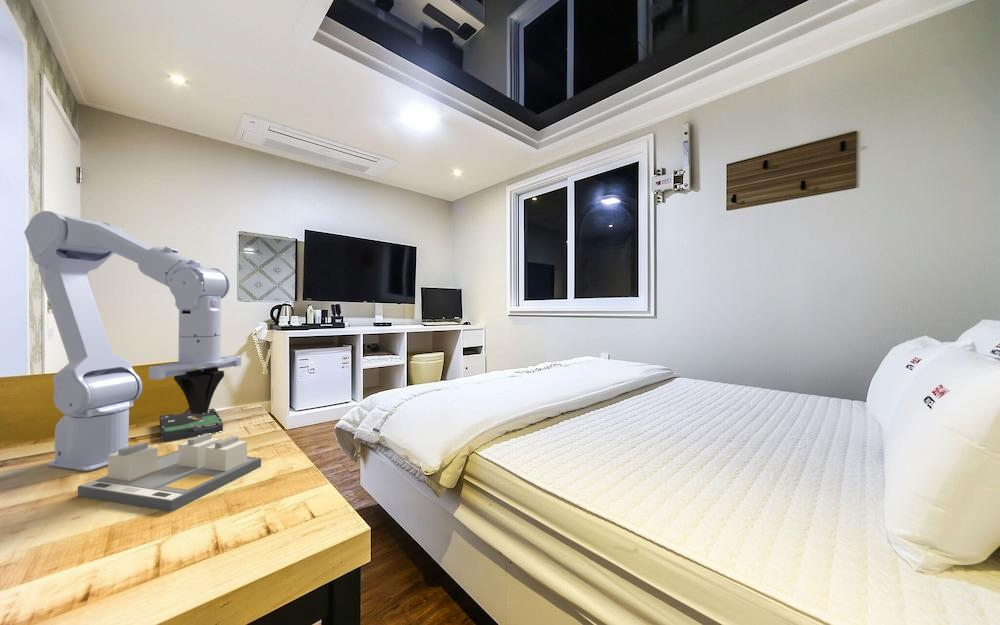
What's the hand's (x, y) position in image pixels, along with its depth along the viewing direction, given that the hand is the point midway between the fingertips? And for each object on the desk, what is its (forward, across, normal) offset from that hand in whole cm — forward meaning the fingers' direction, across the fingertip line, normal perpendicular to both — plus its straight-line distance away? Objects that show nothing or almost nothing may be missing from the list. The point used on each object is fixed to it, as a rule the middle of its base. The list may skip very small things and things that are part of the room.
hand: (199, 412), depth 65 cm
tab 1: (+8, -7, +4) cm, 11 cm away
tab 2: (+8, -1, -2) cm, 8 cm away
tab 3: (+8, -1, -7) cm, 11 cm away
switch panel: (+10, -5, -2) cm, 11 cm away
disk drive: (+10, +15, +21) cm, 28 cm away
